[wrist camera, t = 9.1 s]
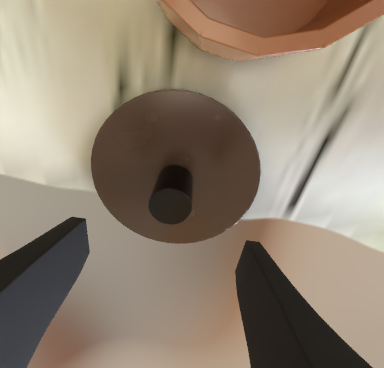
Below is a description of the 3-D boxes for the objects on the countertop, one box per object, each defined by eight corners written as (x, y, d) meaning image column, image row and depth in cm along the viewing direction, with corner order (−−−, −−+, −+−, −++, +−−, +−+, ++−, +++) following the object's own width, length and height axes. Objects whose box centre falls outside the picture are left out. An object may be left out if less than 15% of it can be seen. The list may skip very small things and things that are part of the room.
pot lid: (291, 163, 16) (322, 194, 12) (190, 255, 21) (188, 299, 17) (154, 42, 13) (134, 30, 9) (71, 184, 17) (33, 219, 13)
